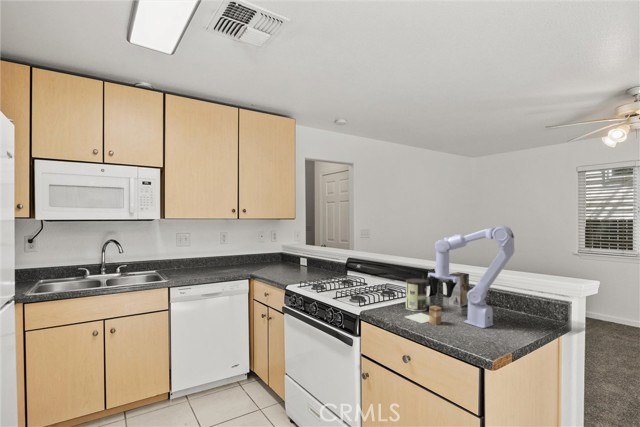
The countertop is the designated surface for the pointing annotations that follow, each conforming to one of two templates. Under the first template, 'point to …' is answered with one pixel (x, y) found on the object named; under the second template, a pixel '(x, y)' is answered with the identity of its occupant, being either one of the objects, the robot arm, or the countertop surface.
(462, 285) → the coffee box
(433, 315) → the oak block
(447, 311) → the countertop surface
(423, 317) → the felt mat
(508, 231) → the robot arm
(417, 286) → the coffee can
